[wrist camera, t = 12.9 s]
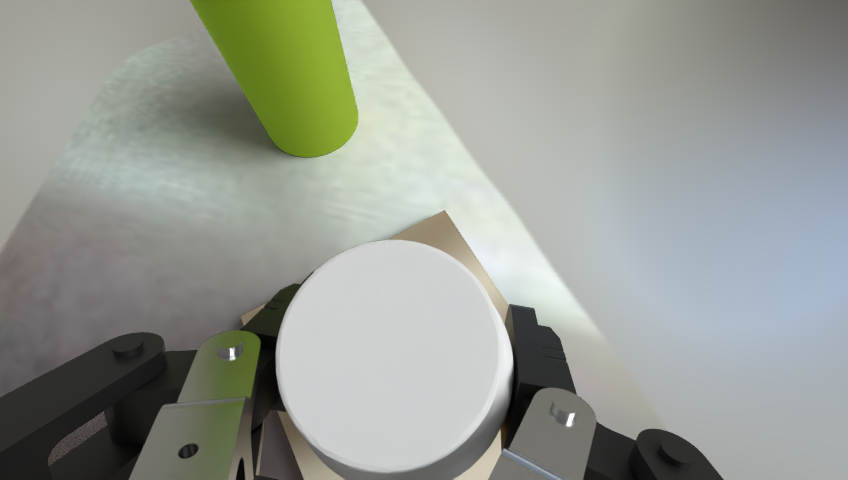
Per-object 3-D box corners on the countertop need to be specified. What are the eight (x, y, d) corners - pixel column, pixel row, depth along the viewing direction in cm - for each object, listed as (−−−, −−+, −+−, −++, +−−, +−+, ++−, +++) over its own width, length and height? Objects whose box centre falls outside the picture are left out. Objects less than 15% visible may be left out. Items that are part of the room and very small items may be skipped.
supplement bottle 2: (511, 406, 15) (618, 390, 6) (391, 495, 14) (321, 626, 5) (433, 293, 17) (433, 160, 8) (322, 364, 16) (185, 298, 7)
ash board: (246, 319, 21) (240, 316, 20) (444, 216, 23) (444, 209, 22) (366, 622, 16) (363, 632, 15) (602, 454, 18) (609, 456, 17)
